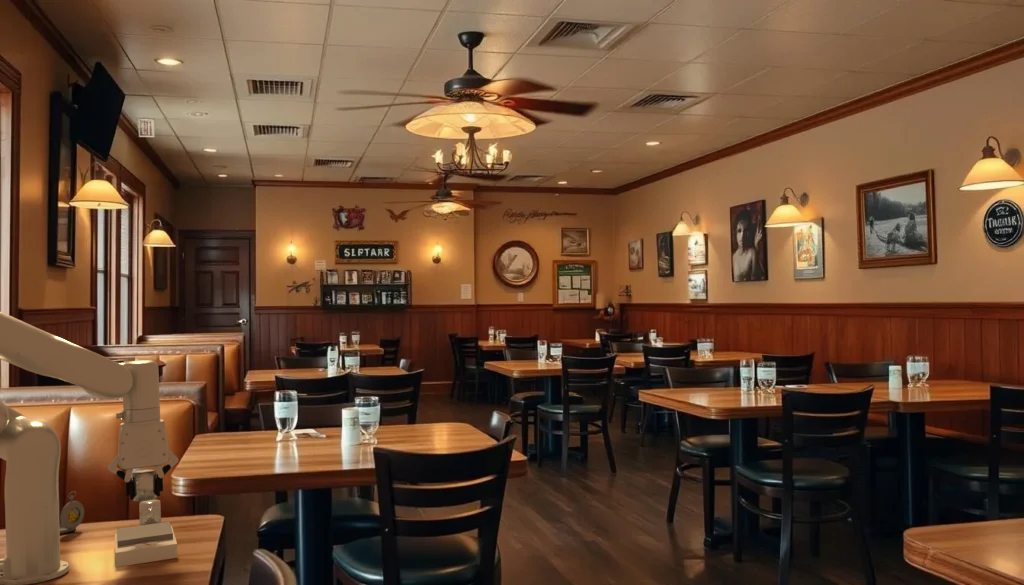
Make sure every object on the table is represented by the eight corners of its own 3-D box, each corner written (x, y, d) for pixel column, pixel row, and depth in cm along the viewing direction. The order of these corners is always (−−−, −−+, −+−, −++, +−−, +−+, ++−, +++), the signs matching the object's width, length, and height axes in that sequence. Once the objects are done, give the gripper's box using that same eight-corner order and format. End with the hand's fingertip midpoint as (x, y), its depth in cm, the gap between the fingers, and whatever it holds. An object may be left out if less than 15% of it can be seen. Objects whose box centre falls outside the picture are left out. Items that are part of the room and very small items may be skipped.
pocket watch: (49, 529, 201) (48, 489, 201) (86, 525, 203) (85, 485, 203) (40, 538, 193) (39, 496, 193) (80, 534, 195) (79, 493, 195)
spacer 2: (140, 530, 198) (139, 505, 198) (139, 525, 202) (138, 501, 202) (161, 527, 200) (161, 502, 200) (160, 522, 204) (159, 498, 204)
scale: (115, 567, 170) (115, 547, 170) (115, 547, 184) (114, 528, 184) (177, 557, 175) (176, 538, 175) (172, 538, 190) (171, 520, 190)
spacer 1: (133, 502, 179) (132, 475, 178) (132, 497, 183) (131, 471, 183) (157, 499, 181) (156, 472, 181) (156, 494, 185) (155, 468, 185)
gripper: (99, 421, 175) (102, 506, 175) (184, 414, 182) (186, 494, 182) (99, 417, 181) (102, 498, 181) (181, 410, 189) (184, 488, 189)
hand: (144, 495), depth 182 cm, fingers closed on spacer 1, 4 cm apart
